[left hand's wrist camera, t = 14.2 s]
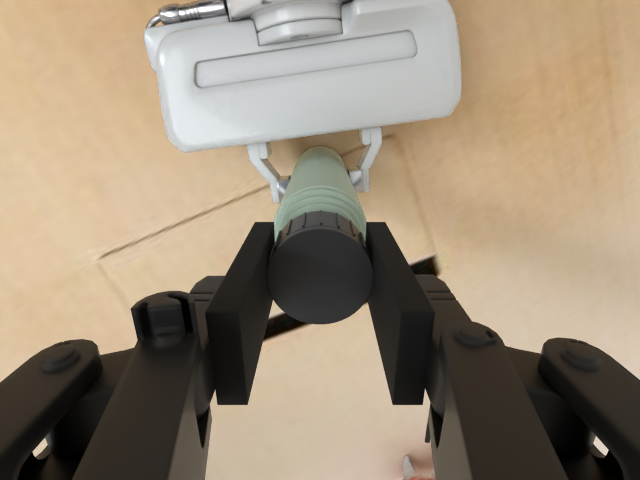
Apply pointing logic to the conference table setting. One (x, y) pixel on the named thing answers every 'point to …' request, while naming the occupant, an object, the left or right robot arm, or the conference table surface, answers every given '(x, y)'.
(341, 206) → the bottle
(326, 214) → the cap
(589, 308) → the conference table surface
